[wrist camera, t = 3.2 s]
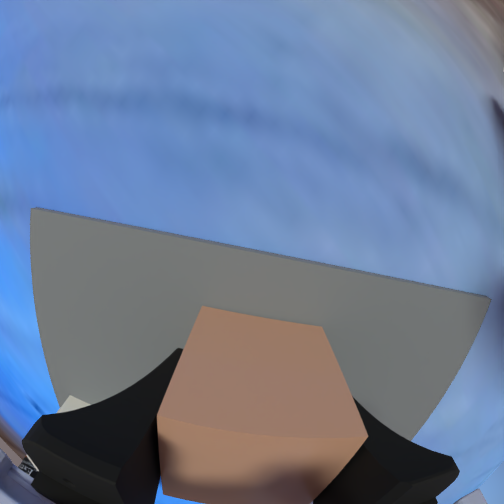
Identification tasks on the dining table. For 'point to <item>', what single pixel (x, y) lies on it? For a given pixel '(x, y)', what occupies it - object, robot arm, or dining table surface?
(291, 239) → the dining table surface
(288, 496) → the clay colored cube
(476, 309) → the mat
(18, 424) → the dining table surface
